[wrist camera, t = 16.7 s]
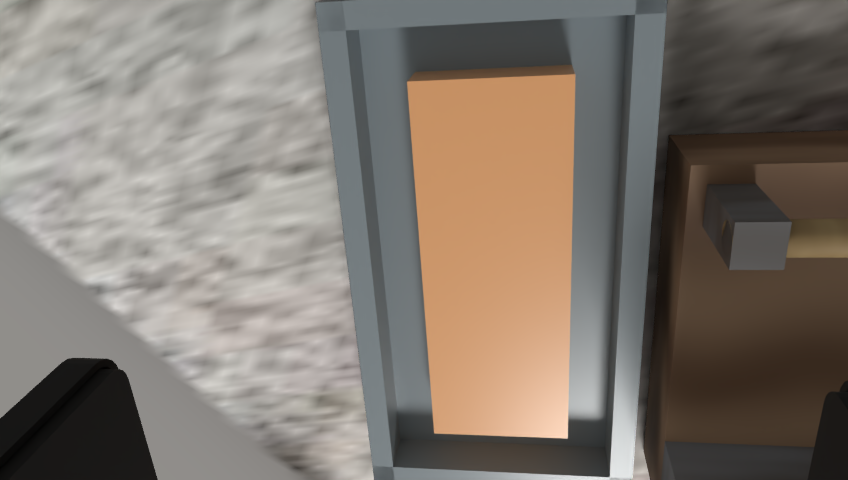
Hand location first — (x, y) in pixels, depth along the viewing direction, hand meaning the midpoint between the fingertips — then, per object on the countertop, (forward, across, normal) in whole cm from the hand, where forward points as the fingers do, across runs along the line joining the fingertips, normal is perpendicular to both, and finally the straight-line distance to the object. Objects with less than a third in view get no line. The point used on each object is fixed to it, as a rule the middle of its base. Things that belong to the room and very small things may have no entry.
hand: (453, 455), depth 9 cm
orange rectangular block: (+19, 0, +6) cm, 20 cm away
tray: (+20, 0, +6) cm, 21 cm away
